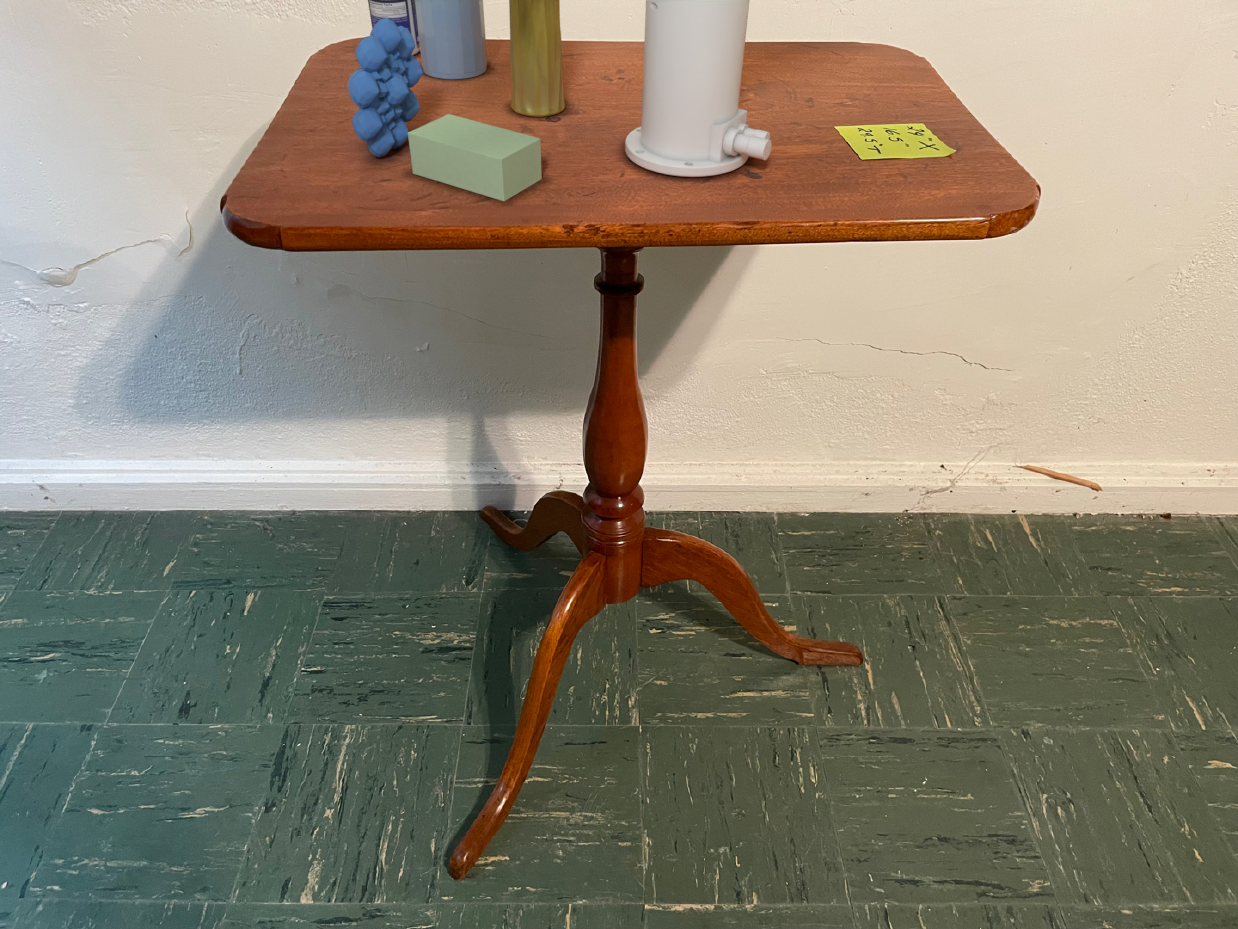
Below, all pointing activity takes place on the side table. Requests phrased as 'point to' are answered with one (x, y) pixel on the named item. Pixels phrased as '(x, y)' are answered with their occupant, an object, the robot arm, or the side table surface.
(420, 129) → the pale sage-green block
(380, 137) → the grapes
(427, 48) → the cup
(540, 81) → the vase
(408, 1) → the pill bottle
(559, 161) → the side table surface
